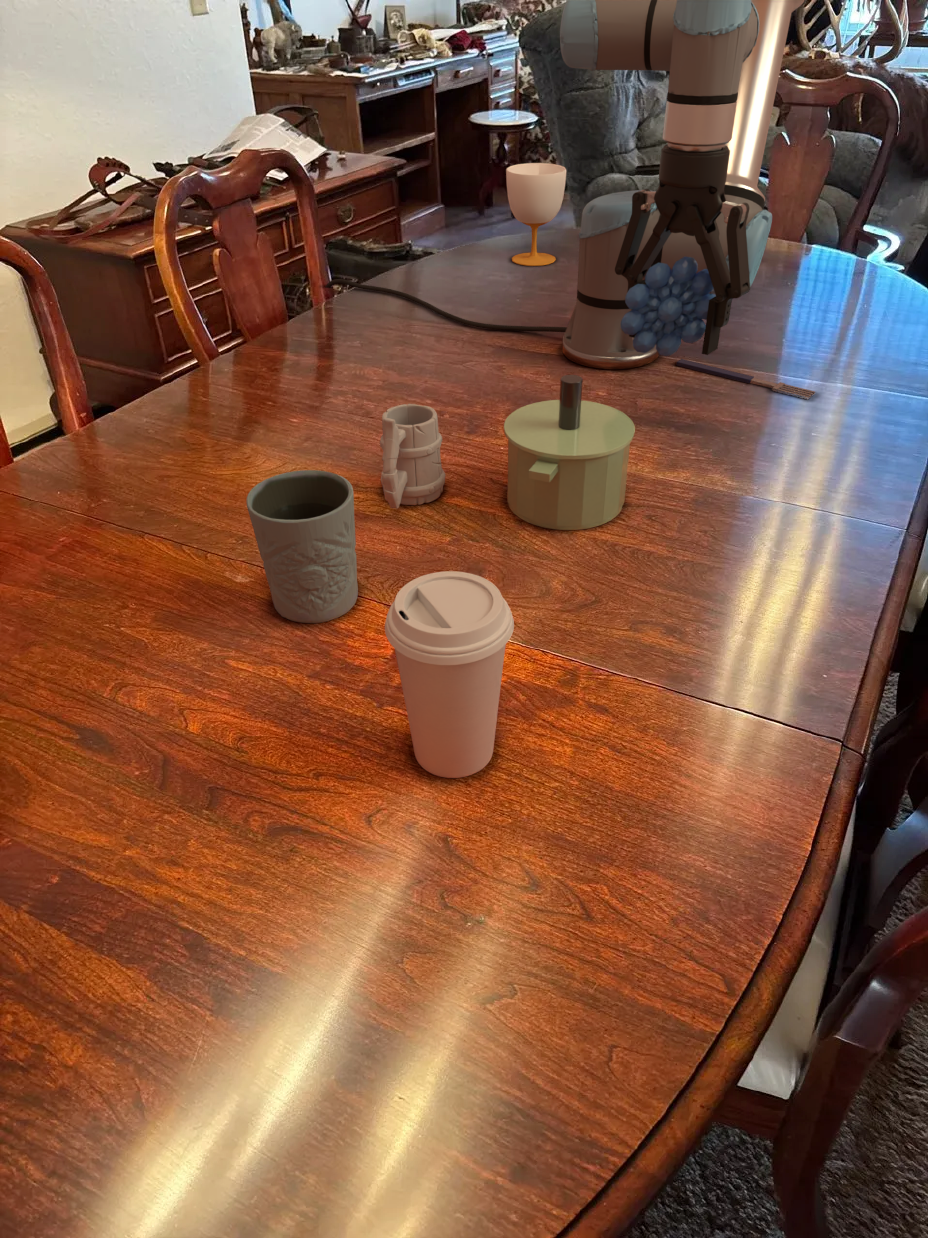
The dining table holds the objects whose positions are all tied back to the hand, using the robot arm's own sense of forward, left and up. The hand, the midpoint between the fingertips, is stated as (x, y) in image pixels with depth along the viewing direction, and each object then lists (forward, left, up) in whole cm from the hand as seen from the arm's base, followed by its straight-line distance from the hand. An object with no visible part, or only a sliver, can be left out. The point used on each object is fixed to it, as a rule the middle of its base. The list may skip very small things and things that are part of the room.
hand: (672, 342), depth 115 cm
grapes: (-1, 0, -2) cm, 2 cm away
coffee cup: (+16, -63, -12) cm, 66 cm away
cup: (-61, +56, -12) cm, 84 cm away
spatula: (0, +23, -12) cm, 26 cm away
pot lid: (0, -23, -3) cm, 23 cm away
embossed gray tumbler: (-9, -55, -12) cm, 57 cm away
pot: (0, -23, -12) cm, 26 cm away
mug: (-15, -34, -12) cm, 39 cm away
